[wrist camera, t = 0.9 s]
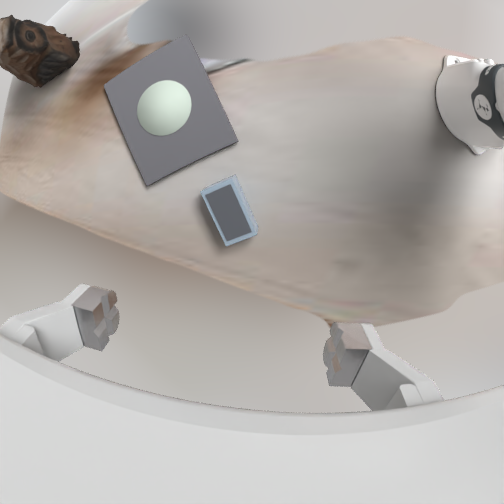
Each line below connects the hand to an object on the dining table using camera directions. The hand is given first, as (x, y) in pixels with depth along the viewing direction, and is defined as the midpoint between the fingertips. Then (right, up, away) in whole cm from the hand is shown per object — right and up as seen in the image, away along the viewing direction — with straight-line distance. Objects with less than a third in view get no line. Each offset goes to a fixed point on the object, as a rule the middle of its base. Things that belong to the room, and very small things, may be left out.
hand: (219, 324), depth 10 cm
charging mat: (-12, +25, +28) cm, 39 cm away
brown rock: (-38, +41, +23) cm, 60 cm away
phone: (-2, +10, +34) cm, 35 cm away
